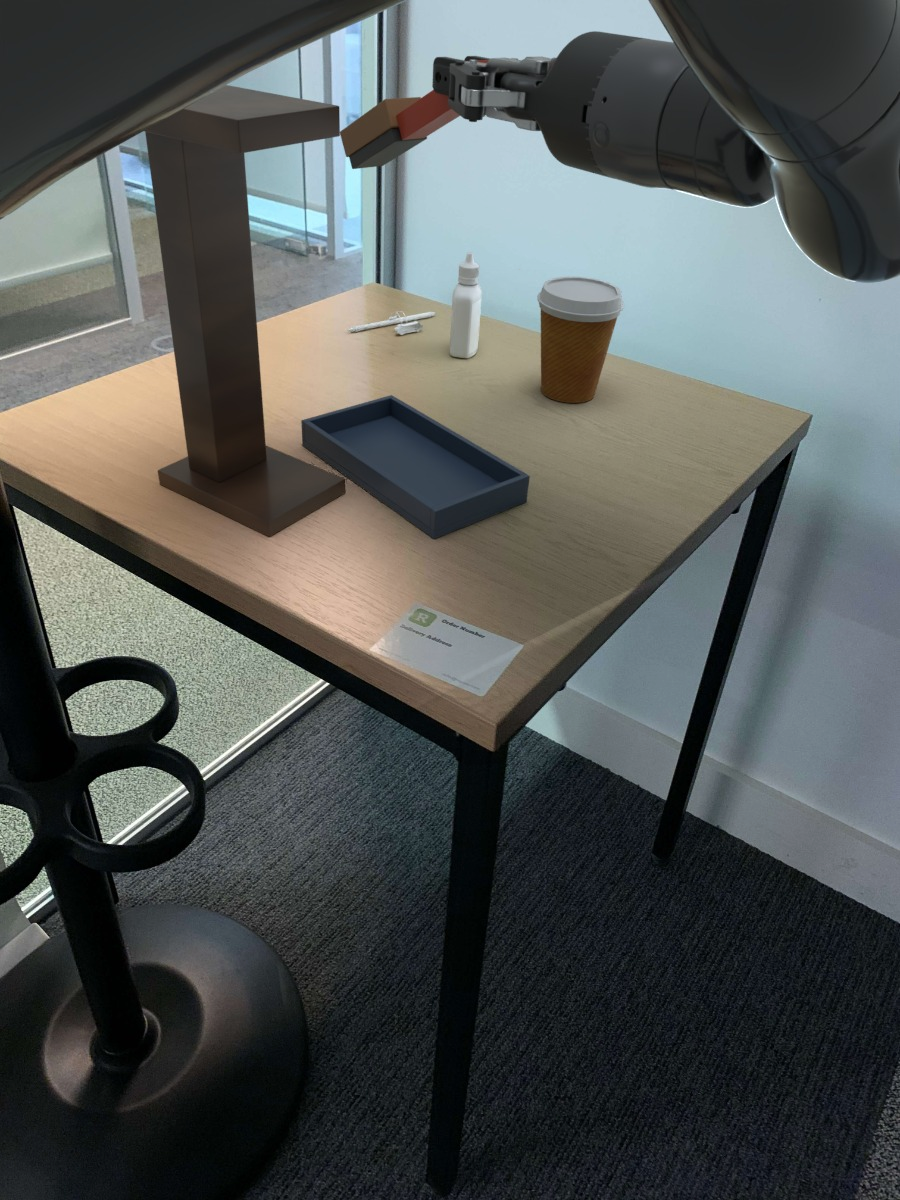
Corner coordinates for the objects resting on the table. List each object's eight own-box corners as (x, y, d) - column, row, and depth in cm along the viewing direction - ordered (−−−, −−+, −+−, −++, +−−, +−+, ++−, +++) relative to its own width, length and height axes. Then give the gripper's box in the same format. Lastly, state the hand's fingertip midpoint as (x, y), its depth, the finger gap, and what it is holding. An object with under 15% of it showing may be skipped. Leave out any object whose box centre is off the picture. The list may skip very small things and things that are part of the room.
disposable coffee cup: (588, 417, 100) (605, 310, 93) (512, 394, 104) (523, 290, 97) (621, 389, 107) (639, 287, 100) (549, 369, 111) (561, 269, 104)
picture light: (433, 315, 124) (434, 299, 123) (452, 325, 121) (453, 309, 120) (346, 332, 117) (346, 316, 116) (364, 343, 114) (364, 326, 113)
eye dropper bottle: (490, 350, 115) (499, 253, 108) (462, 361, 111) (468, 262, 104) (464, 340, 117) (471, 244, 110) (435, 351, 113) (440, 253, 106)
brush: (513, 87, 63) (503, 39, 62) (475, 89, 61) (464, 40, 60) (383, 166, 77) (373, 128, 76) (349, 170, 75) (339, 131, 74)
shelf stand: (345, 492, 84) (339, 105, 65) (269, 537, 77) (238, 119, 58) (238, 446, 90) (204, 80, 71) (159, 484, 84) (98, 91, 64)
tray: (526, 502, 85) (530, 475, 83) (433, 539, 79) (435, 511, 77) (391, 419, 97) (391, 394, 96) (302, 445, 91) (300, 420, 90)
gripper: (721, 37, 56) (527, 11, 66) (563, 40, 48) (372, 10, 58) (695, 169, 60) (517, 125, 70) (547, 191, 53) (372, 138, 63)
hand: (452, 73), depth 64 cm, fingers closed on brush, 2 cm apart
